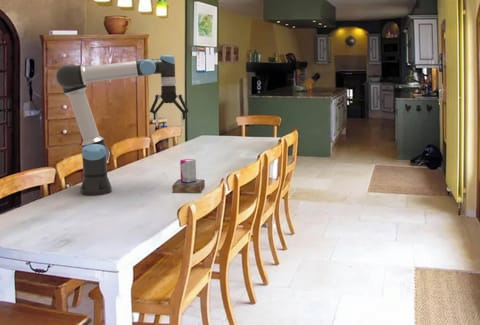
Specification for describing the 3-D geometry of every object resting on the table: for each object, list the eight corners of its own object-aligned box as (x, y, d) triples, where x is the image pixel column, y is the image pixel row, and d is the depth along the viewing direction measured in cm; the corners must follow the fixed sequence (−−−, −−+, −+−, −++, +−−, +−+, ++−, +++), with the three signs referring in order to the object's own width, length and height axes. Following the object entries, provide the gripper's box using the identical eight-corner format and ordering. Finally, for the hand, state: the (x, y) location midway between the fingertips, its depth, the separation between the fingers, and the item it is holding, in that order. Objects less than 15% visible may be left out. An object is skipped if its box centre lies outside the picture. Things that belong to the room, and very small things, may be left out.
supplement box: (196, 181, 293) (196, 159, 291) (188, 183, 288) (188, 161, 286) (188, 180, 296) (187, 158, 294) (180, 182, 292) (179, 159, 290)
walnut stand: (172, 192, 287) (172, 184, 286) (178, 186, 301) (177, 178, 300) (200, 192, 286) (200, 185, 285) (204, 186, 299) (204, 178, 299)
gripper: (143, 85, 297) (144, 126, 301) (190, 85, 294) (192, 126, 298) (146, 85, 304) (148, 125, 308) (193, 84, 302) (194, 124, 306)
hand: (169, 125), depth 303 cm, fingers open, 13 cm apart
